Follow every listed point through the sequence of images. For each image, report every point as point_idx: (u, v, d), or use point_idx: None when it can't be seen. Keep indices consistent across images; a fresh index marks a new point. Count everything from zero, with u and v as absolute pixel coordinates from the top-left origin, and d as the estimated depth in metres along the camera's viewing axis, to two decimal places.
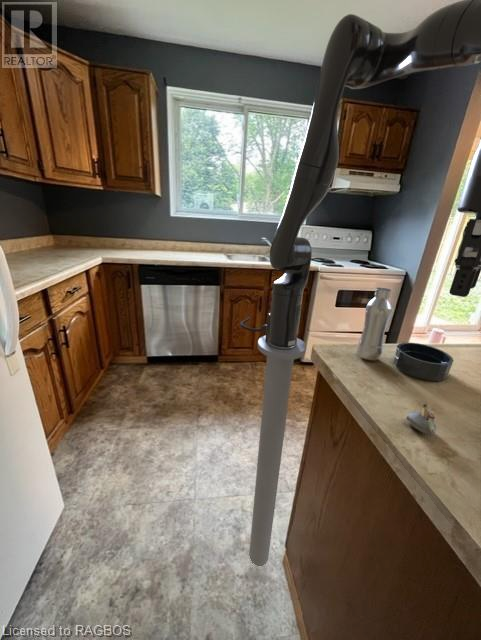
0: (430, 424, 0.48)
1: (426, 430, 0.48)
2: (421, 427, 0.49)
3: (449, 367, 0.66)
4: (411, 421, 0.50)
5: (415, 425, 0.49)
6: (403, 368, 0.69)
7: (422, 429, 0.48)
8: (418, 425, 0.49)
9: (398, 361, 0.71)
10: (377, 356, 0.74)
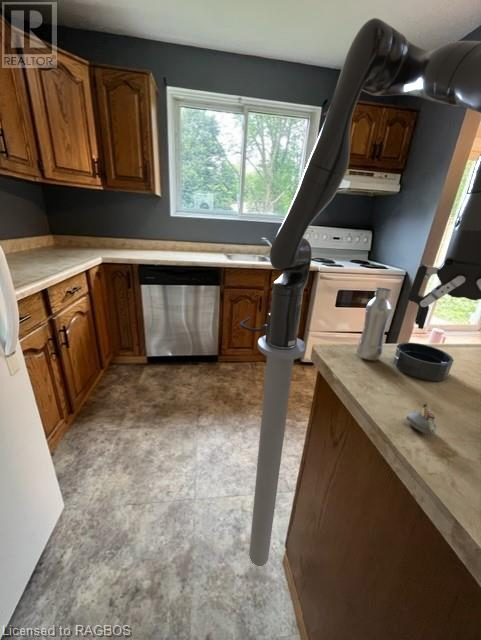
0: (430, 424, 0.48)
1: (426, 430, 0.48)
2: (421, 427, 0.49)
3: (449, 367, 0.66)
4: (411, 421, 0.50)
5: (415, 425, 0.49)
6: (403, 368, 0.69)
7: (422, 429, 0.48)
8: (418, 425, 0.49)
9: (398, 361, 0.71)
10: (377, 356, 0.74)
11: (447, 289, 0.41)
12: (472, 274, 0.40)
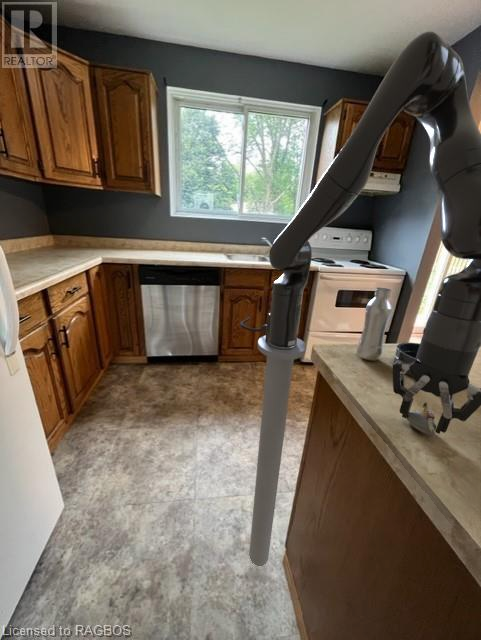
0: (430, 424, 0.48)
1: (426, 430, 0.48)
2: (421, 427, 0.49)
3: None
4: (411, 421, 0.50)
5: (415, 425, 0.49)
6: None
7: (422, 429, 0.48)
8: (418, 425, 0.49)
9: None
10: (377, 356, 0.74)
11: (416, 383, 0.48)
12: (437, 375, 0.46)
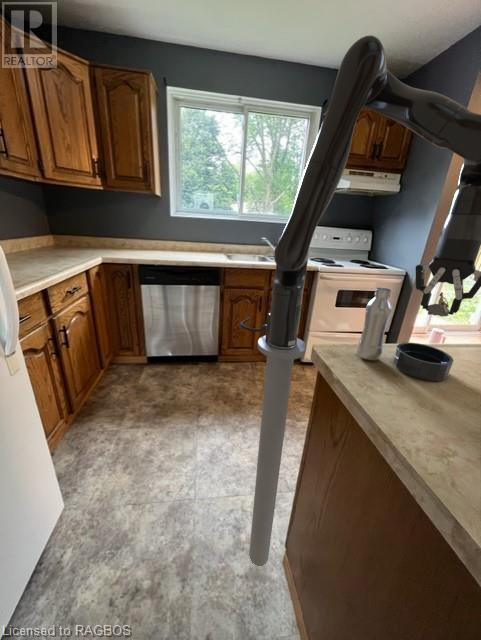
0: (445, 307, 0.63)
1: (442, 312, 0.63)
2: (438, 311, 0.64)
3: (449, 367, 0.66)
4: (430, 309, 0.65)
5: (433, 311, 0.64)
6: (403, 368, 0.69)
7: (439, 312, 0.63)
8: (436, 310, 0.64)
9: (398, 361, 0.71)
10: (377, 356, 0.74)
11: (434, 276, 0.63)
12: (450, 267, 0.61)
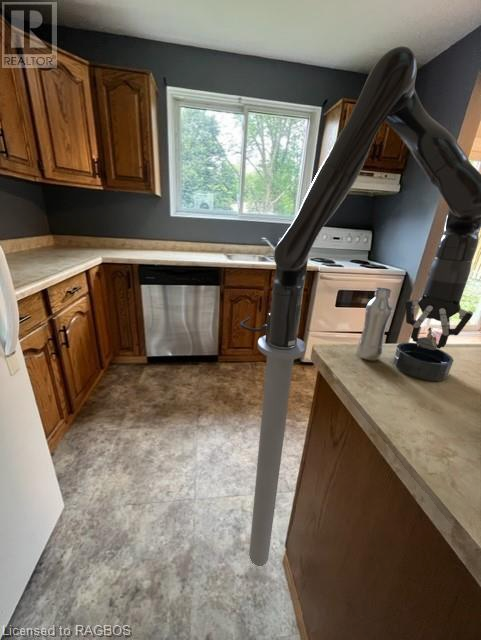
0: (433, 342, 0.67)
1: (430, 346, 0.68)
2: (426, 345, 0.68)
3: (449, 367, 0.66)
4: (419, 342, 0.69)
5: (422, 344, 0.69)
6: (403, 368, 0.69)
7: (427, 346, 0.68)
8: (424, 343, 0.68)
9: (398, 361, 0.71)
10: (377, 356, 0.74)
11: (423, 313, 0.67)
12: (438, 305, 0.65)
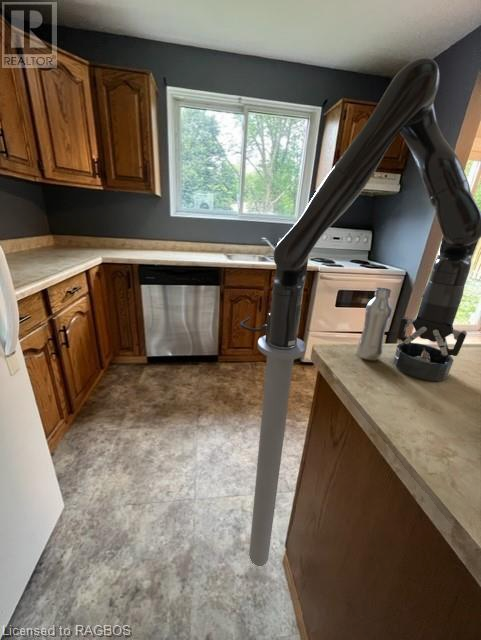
0: (427, 361, 0.69)
1: None
2: None
3: (449, 367, 0.66)
4: None
5: None
6: (403, 368, 0.69)
7: None
8: None
9: (398, 361, 0.71)
10: (377, 356, 0.74)
11: (417, 333, 0.69)
12: (431, 326, 0.67)
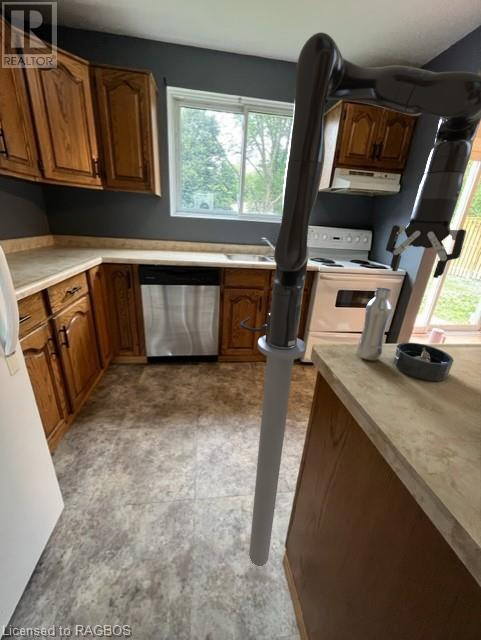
0: (427, 361, 0.69)
1: None
2: None
3: (449, 367, 0.66)
4: None
5: None
6: (403, 368, 0.69)
7: None
8: None
9: (398, 361, 0.71)
10: (377, 356, 0.74)
11: (409, 240, 0.61)
12: (426, 229, 0.59)
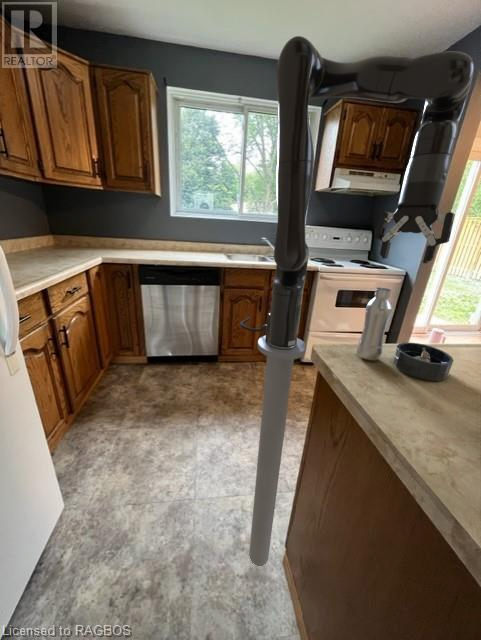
0: (427, 361, 0.69)
1: None
2: None
3: (449, 367, 0.66)
4: None
5: None
6: (403, 368, 0.69)
7: None
8: None
9: (398, 361, 0.71)
10: (377, 356, 0.74)
11: (398, 226, 0.60)
12: (414, 214, 0.58)
